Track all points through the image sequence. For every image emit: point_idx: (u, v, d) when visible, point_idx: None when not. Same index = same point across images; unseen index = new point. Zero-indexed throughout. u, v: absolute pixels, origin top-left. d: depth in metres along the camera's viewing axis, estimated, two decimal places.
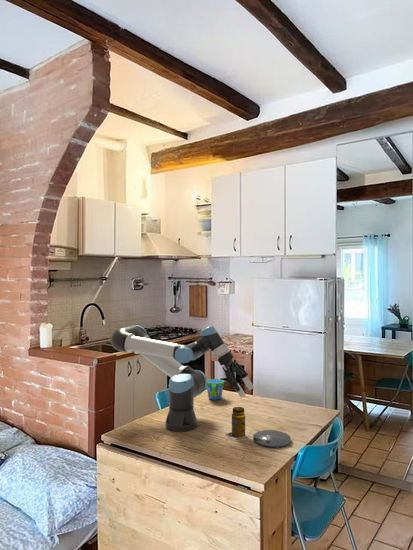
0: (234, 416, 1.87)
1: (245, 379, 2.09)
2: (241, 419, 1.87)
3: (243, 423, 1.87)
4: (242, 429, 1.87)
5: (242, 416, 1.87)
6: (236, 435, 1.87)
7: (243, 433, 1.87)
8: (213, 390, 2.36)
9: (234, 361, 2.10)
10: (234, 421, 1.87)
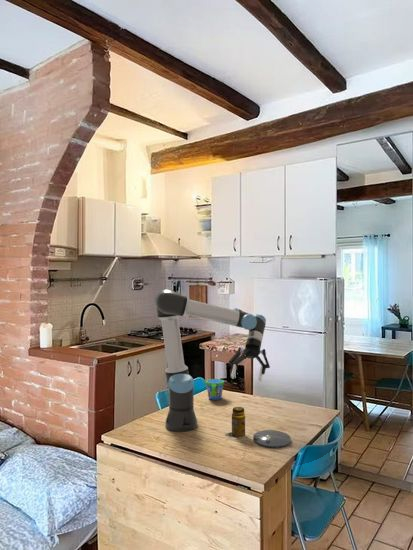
0: (234, 416, 1.87)
1: (235, 367, 2.06)
2: (241, 419, 1.87)
3: (243, 423, 1.87)
4: (242, 429, 1.87)
5: (242, 416, 1.87)
6: (236, 435, 1.87)
7: (243, 433, 1.87)
8: (213, 390, 2.36)
9: None
10: (234, 421, 1.87)
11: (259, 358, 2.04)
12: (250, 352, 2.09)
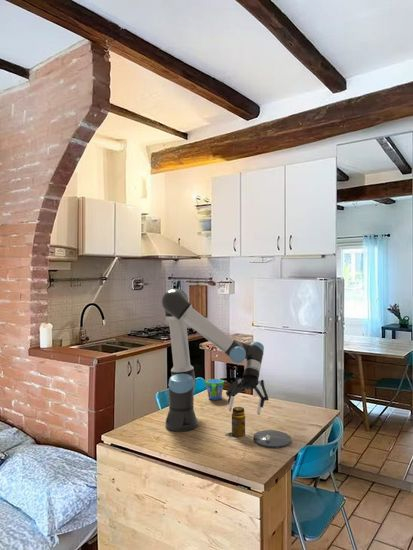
0: (234, 416, 1.87)
1: (232, 399, 1.99)
2: (241, 419, 1.87)
3: (243, 423, 1.87)
4: (242, 429, 1.87)
5: (242, 416, 1.87)
6: (236, 435, 1.87)
7: (243, 433, 1.87)
8: (213, 390, 2.36)
9: None
10: (234, 421, 1.87)
11: (257, 390, 1.97)
12: (248, 383, 2.01)
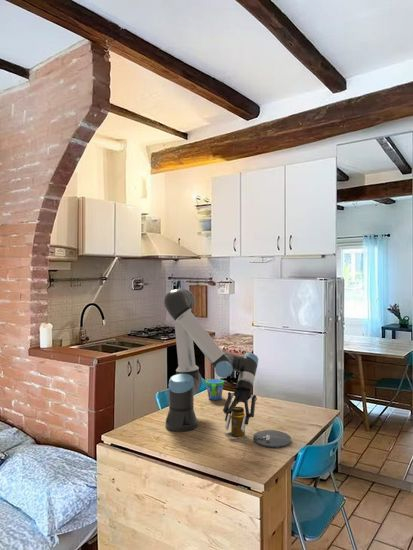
0: (234, 416, 1.87)
1: (230, 417, 1.91)
2: (241, 419, 1.87)
3: None
4: None
5: (242, 416, 1.87)
6: (236, 435, 1.87)
7: (243, 433, 1.87)
8: (213, 390, 2.36)
9: None
10: (234, 421, 1.87)
11: (246, 405, 1.91)
12: (241, 396, 1.95)
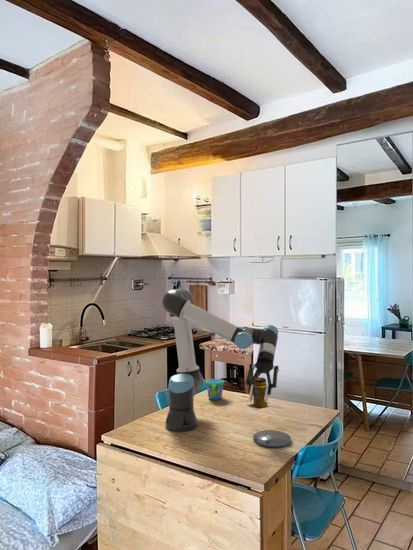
0: (256, 386, 1.84)
1: None
2: (263, 389, 1.83)
3: None
4: None
5: (264, 386, 1.83)
6: (258, 406, 1.83)
7: (265, 404, 1.84)
8: (213, 390, 2.36)
9: None
10: (256, 391, 1.83)
11: (268, 375, 1.87)
12: (262, 367, 1.91)
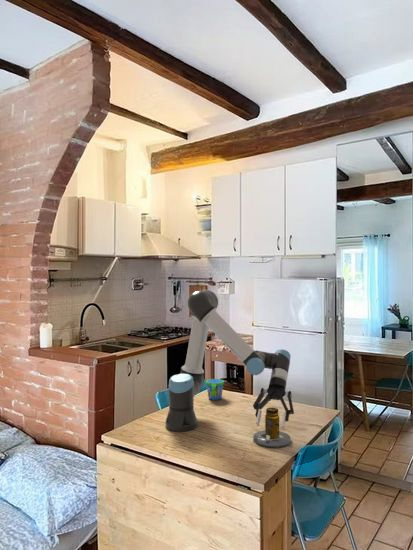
0: (268, 417, 1.81)
1: (260, 412, 1.86)
2: (275, 420, 1.81)
3: (277, 424, 1.81)
4: (276, 430, 1.81)
5: (276, 417, 1.81)
6: (270, 437, 1.81)
7: (277, 435, 1.81)
8: (213, 390, 2.36)
9: None
10: (268, 422, 1.81)
11: (283, 401, 1.85)
12: (274, 393, 1.89)
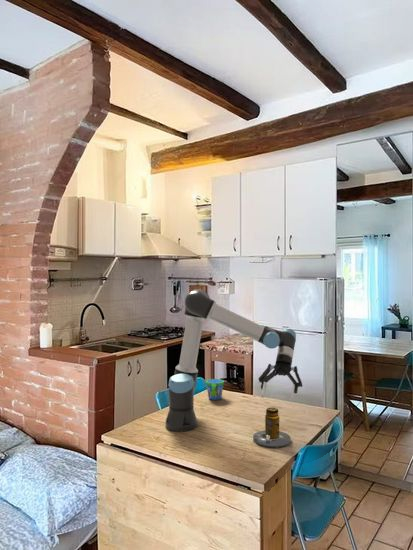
0: (268, 417, 1.81)
1: (265, 385, 1.97)
2: (275, 420, 1.81)
3: (277, 424, 1.81)
4: (276, 430, 1.81)
5: (276, 417, 1.81)
6: (270, 437, 1.81)
7: (277, 435, 1.81)
8: (213, 390, 2.36)
9: None
10: (268, 422, 1.81)
11: (291, 376, 1.95)
12: (281, 369, 1.99)
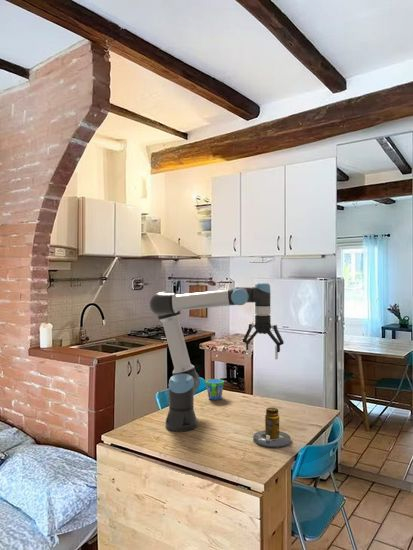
0: (268, 417, 1.81)
1: (250, 345, 2.10)
2: (275, 420, 1.81)
3: (277, 424, 1.81)
4: (276, 430, 1.81)
5: (276, 417, 1.81)
6: (270, 437, 1.81)
7: (277, 435, 1.81)
8: (213, 390, 2.36)
9: None
10: (268, 422, 1.81)
11: (272, 336, 2.05)
12: (261, 329, 2.07)
